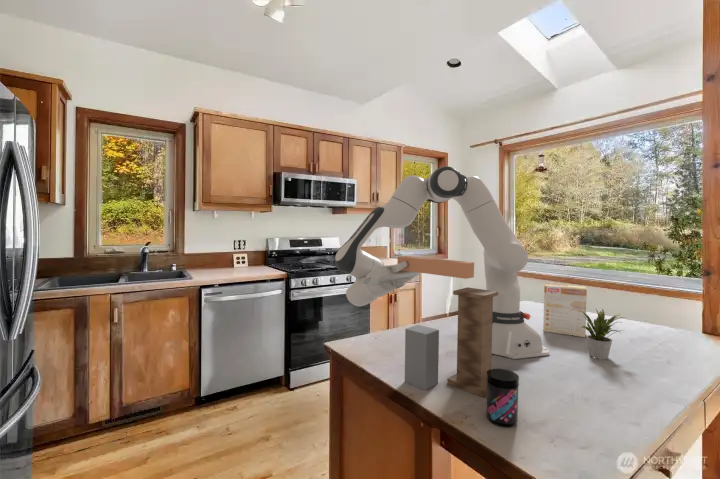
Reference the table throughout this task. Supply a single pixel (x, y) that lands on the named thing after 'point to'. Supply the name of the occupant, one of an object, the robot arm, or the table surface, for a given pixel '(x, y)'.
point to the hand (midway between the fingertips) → (412, 262)
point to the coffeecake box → (564, 309)
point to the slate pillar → (421, 356)
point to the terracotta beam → (439, 266)
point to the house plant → (600, 335)
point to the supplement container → (502, 397)
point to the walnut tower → (473, 340)
